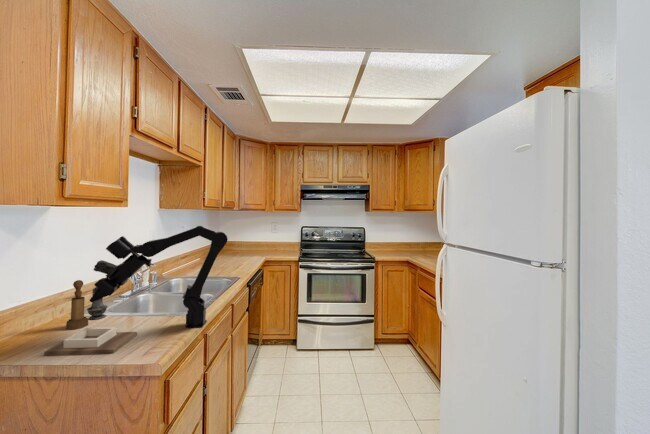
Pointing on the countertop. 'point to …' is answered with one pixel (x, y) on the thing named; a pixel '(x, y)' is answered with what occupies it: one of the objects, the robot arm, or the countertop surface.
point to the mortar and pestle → (77, 309)
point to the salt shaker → (97, 308)
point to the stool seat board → (92, 342)
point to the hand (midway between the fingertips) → (92, 299)
